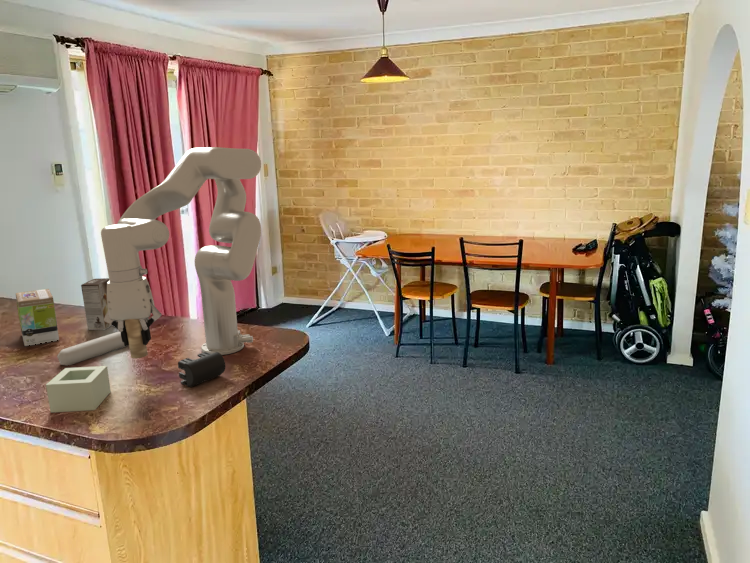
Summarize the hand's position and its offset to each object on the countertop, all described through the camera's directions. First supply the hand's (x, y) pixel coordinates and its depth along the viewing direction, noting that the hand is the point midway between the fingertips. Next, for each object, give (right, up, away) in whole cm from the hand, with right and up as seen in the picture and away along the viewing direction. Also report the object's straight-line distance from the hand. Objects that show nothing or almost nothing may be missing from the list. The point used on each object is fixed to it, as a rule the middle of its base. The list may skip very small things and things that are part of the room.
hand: (137, 343), depth 142 cm
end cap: (+16, -11, +4) cm, 19 cm away
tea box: (-49, -3, +41) cm, 64 cm away
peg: (0, -3, +1) cm, 3 cm away
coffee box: (-34, 0, +52) cm, 62 cm away
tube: (-22, -6, +26) cm, 34 cm away
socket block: (-11, -13, -7) cm, 18 cm away
